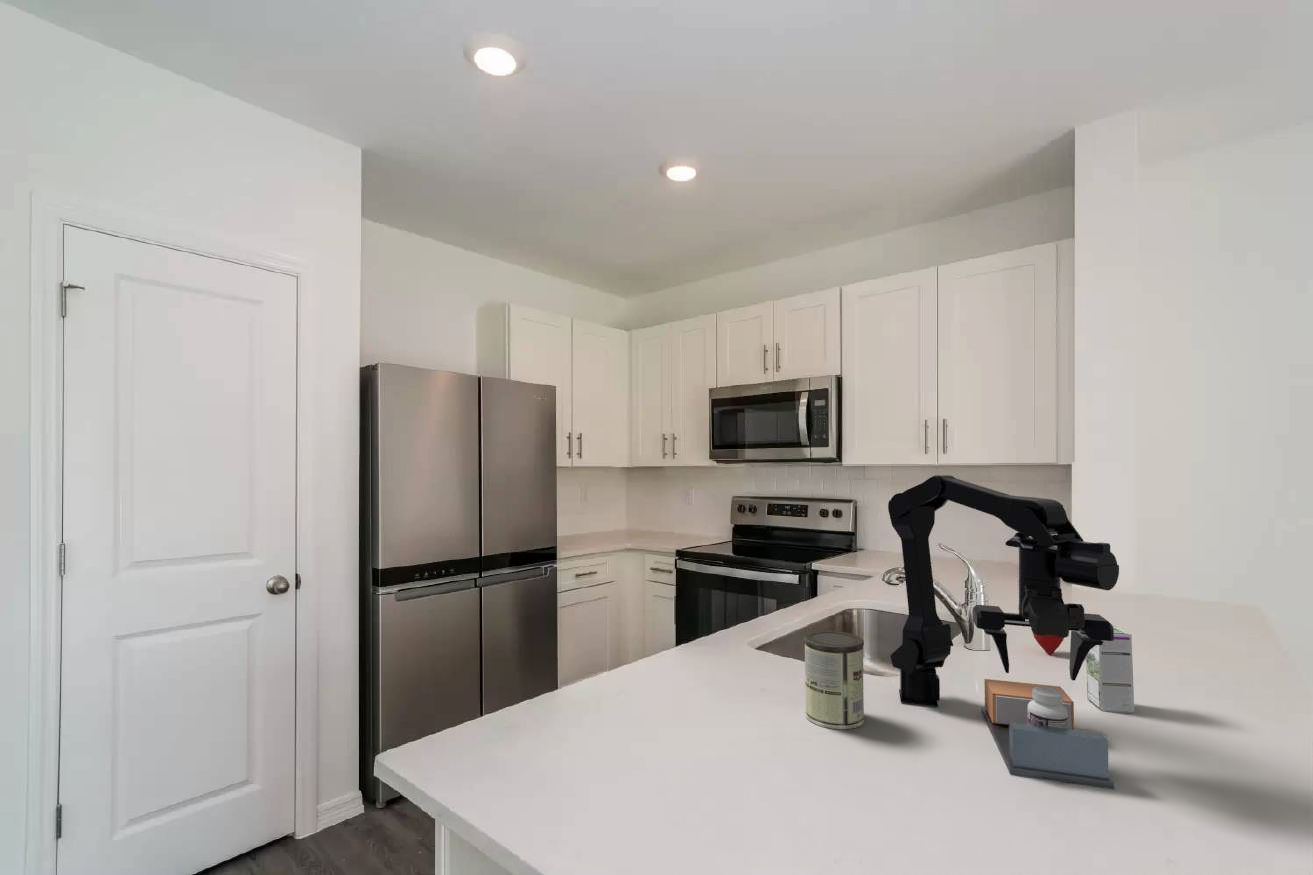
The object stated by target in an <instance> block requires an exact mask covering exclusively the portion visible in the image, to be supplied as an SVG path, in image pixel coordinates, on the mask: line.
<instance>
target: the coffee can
mask: <svg viewBox="0 0 1313 875" xmlns="http://www.w3.org/2000/svg"><path fill="white" fill-rule="evenodd" d="M803 641H804V685H805V687H804V688H805V689H804V690H805V691H804V692H805V693H804V696H805V712H804V715H805V718H806V719H807V720H808V721H809V722H811V723H812V724H814V725H816V726H819V727H822V728H825V729H832V730H852V729H856V728H859V727H861V726H862V725H863V724H864V723H865V718H864V717H865V714H864V712H865V710H864V709H865V707H864V705H865V702H864V699H865V698H864V645H865V641H864V639H863V637H860V636H858V635H856V634H854V633H850V632H845V631H837V630H817V631H812V632H808V633H806V634H804V636H803Z"/></svg>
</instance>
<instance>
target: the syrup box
mask: <svg viewBox="0 0 1313 875" xmlns="http://www.w3.org/2000/svg"><path fill="white" fill-rule="evenodd" d="M1112 626H1113V629H1114V641H1104V640H1102V641H1103V645H1096V646H1094V647H1093V648H1092V649H1091V650H1090V651H1089V652H1088V654H1087V656H1086V657H1085V659H1086V690H1087V691H1086V693H1087V694H1086V695H1087V701H1089V702H1090V703H1092V705H1094V706H1095V707H1096V708H1097V709H1099V710H1100V711H1102V712H1112V713H1113V712H1114V713H1124V714H1135V694H1134V693H1135V692H1134V691H1135V690H1134V688H1135V687H1134V668H1133V667H1134V664H1133V661H1134V660H1133V642H1132V641H1133V639H1132V638H1133V637H1132V634H1131V633H1129V632H1128V631H1126V630H1124V629H1121V628H1120V627H1118V626H1114V625H1112Z"/></svg>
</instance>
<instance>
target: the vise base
mask: <svg viewBox="0 0 1313 875" xmlns="http://www.w3.org/2000/svg"><path fill="white" fill-rule="evenodd" d="M980 708H981V709H980V710H981V711H980V712H981V715H982V717H983V719H984V721H985V723H986V726H987V728H988V731H989V732H990V734H991V736H992V739H993V740H994V743H995V744H996V747H997V749H998V752H999V753H1000V756H1001V757H1002V759H1003V760H1002V761H1004V763H1005V767H1006V769H1007V770H1008V772H1009V775H1012V776H1018V777H1025V778H1033V779H1040V780H1045V781H1046V780H1048V781H1052V782H1053V781H1054V782H1061V783H1067V784H1076V785H1083V786H1089V787H1095V788H1103V789H1109V790H1110V789H1111V790H1115V781H1114V780H1113V778H1112V777H1111V776H1110V774H1109V739H1108V738H1107V737H1106V736H1105V735H1104V734H1103V733H1102V732H1099V731H1098V732H1097V731H1090V730H1089V731H1088V730H1081V729H1074V730H1073V729H1064V728H1056V727H1047V726H1039V725H1030V724H1022V723H1013V722H1009V725H1005V724H997V723H993V722H992V720H991V718H990V716H989V714H988V712H987V710H986V708H985V706H983V707H982V706H981V707H980Z"/></svg>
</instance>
